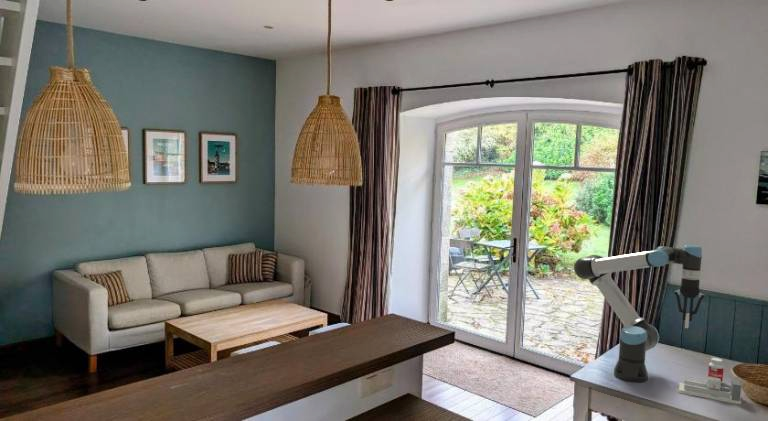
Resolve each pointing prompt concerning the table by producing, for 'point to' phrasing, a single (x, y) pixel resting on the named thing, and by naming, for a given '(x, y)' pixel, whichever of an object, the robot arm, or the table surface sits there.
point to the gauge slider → (714, 383)
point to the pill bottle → (716, 368)
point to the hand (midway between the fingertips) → (686, 327)
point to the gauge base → (713, 391)
